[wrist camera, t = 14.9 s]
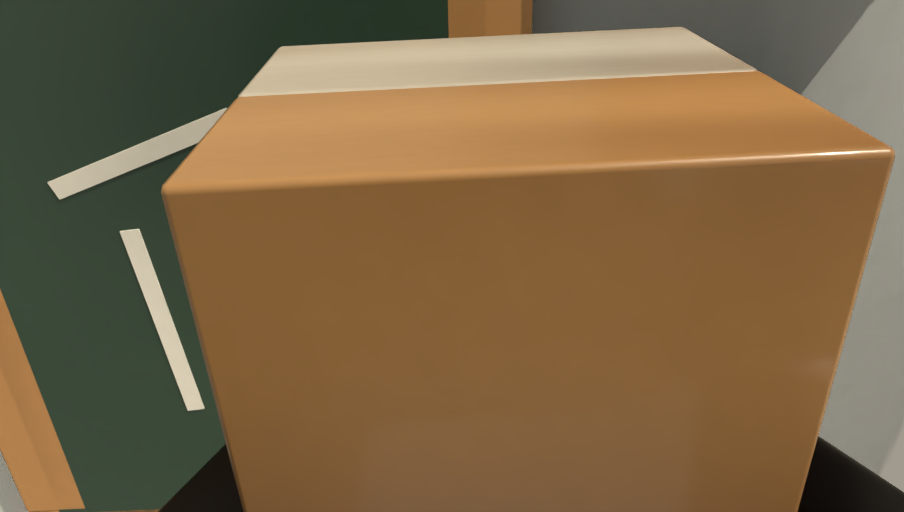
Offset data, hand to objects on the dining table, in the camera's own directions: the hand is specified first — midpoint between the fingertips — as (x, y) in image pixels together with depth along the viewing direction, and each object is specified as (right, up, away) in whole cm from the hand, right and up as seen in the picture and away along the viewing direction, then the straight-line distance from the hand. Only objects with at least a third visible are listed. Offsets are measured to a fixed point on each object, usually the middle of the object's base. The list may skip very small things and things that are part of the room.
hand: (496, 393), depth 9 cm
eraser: (0, 0, +1) cm, 1 cm away
